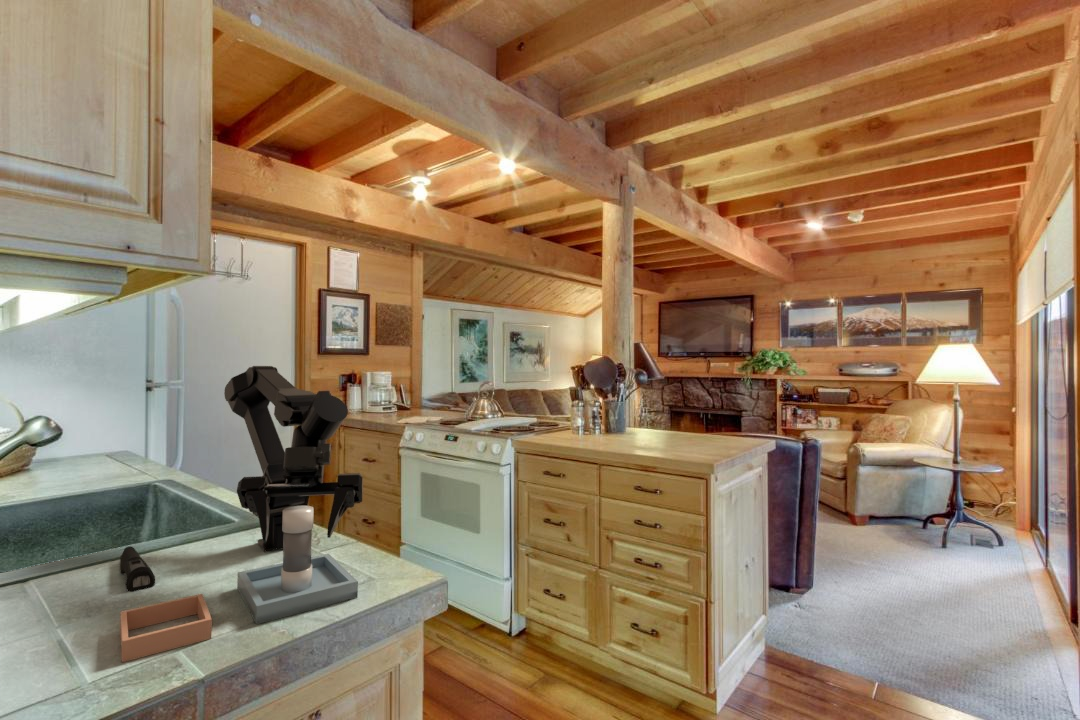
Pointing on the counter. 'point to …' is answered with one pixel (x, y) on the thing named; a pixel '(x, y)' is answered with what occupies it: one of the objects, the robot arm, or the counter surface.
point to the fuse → (297, 548)
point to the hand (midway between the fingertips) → (297, 538)
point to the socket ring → (168, 636)
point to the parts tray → (273, 603)
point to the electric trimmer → (135, 571)
